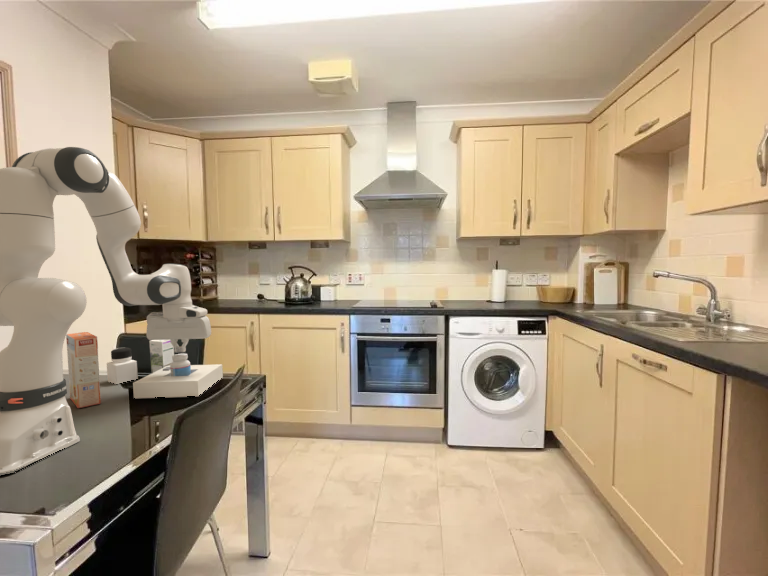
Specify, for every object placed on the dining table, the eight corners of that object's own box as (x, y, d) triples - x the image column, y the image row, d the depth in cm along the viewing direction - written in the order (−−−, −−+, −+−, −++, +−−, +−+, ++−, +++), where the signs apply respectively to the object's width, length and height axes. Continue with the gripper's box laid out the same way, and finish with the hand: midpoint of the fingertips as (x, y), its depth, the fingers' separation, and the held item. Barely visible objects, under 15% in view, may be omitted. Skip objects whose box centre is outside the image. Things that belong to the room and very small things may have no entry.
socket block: (198, 396, 120) (197, 378, 119) (133, 398, 119) (132, 381, 118) (222, 377, 140) (222, 362, 139) (167, 379, 139) (166, 364, 138)
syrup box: (176, 375, 144) (174, 337, 143) (163, 380, 138) (161, 340, 137) (163, 374, 145) (161, 337, 144) (150, 379, 139) (148, 340, 139)
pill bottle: (195, 384, 132) (193, 352, 131) (184, 390, 126) (182, 357, 125) (179, 384, 132) (177, 352, 132) (167, 390, 126) (165, 357, 126)
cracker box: (102, 403, 115) (98, 335, 113) (77, 409, 110) (72, 338, 109) (93, 393, 124) (88, 330, 123) (69, 398, 120) (64, 333, 119)
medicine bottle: (138, 379, 139) (136, 347, 139) (116, 385, 133) (114, 351, 132) (129, 376, 143) (127, 345, 142) (107, 382, 137) (105, 349, 136)
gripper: (140, 313, 124) (143, 355, 125) (204, 312, 125) (206, 353, 126) (151, 311, 130) (154, 350, 131) (212, 309, 131) (214, 348, 132)
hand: (180, 351), depth 129 cm, fingers closed
